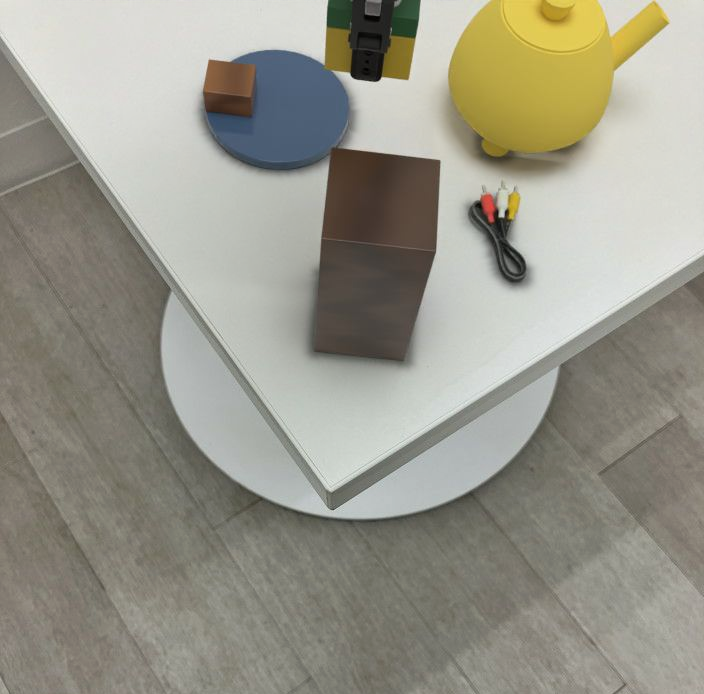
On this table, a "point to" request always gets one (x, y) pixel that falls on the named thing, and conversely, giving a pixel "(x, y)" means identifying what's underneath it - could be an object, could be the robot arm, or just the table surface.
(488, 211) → the composite cable
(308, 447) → the table surface
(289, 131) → the plate
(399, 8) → the sponge
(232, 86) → the brown square block
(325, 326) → the tall dark wooden block
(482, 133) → the teapot
